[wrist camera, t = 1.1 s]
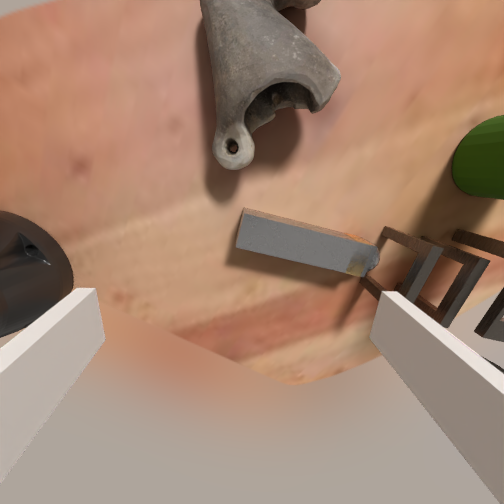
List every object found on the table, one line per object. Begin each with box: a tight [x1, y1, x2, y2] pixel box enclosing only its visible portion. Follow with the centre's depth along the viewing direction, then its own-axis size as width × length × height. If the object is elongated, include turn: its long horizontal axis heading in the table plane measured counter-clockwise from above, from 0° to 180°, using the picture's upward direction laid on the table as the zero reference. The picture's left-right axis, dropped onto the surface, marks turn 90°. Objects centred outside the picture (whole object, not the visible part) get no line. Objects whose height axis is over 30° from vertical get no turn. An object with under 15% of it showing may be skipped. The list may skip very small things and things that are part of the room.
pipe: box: [200, 0, 341, 170], centre depth 22 cm, size 16×9×15 cm
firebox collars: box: [359, 226, 504, 342], centre depth 28 cm, size 12×10×10 cm
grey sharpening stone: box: [236, 208, 380, 277], centre depth 29 cm, size 18×4×4 cm, turn 75°
